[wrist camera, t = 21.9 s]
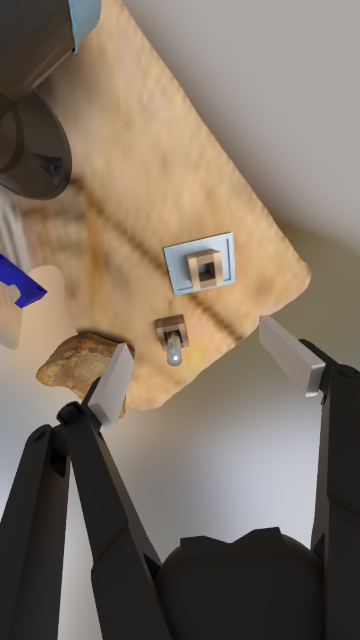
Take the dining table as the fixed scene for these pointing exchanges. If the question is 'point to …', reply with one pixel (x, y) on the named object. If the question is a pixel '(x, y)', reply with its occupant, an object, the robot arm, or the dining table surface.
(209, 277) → the block
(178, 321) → the brown hollow block
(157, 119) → the dining table surface
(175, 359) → the silver metal rod
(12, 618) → the robot arm
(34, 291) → the cable clip
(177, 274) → the tray
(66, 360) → the rough brown rock
